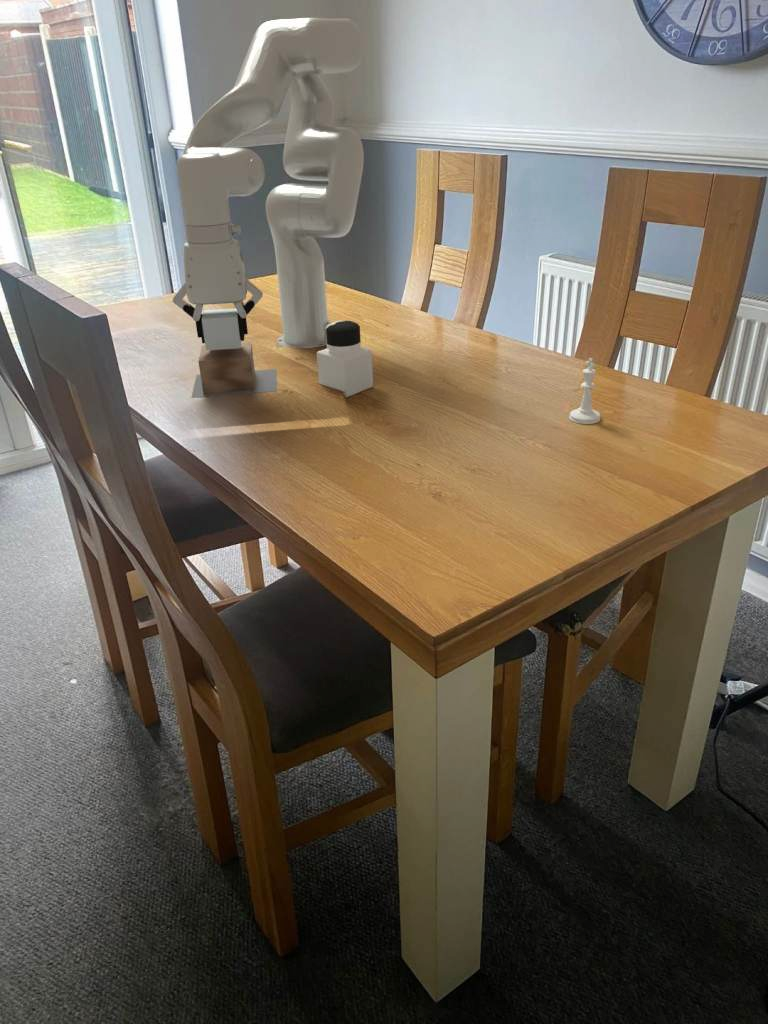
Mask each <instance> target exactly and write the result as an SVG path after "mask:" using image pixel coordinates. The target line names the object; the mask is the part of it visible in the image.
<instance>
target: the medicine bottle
mask: <svg viewBox="0 0 768 1024" xmlns="http://www.w3.org/2000/svg"><path fill="white" fill-rule="evenodd" d="M326 343H327V345H326V348H324V349H322V350H318V351H317V352H316V361H317V362H316V363H317V375H318V384H319V385H323V386H326V387H328V388H331V389H335V390H338V391H340V392H342V395H343V397H344V398H349V397H351V396H354V395H356V394H359V393H361V392H364V391H366V390H368V389H371V388H373V386H374V378H373V377H374V376H373V375H374V374H373V373H374V372H373V357H372V356H373V355H372V353H373V352H372V349H370V348H367V347H364V346H361V345H362V342H361V326H360V324H359V323H357V322H355V321H352V320H336V321H333V322H330V324H329V325H327V327H326Z"/></svg>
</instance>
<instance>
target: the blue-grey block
mask: <svg viewBox="0 0 768 1024" xmlns="http://www.w3.org/2000/svg"><path fill="white" fill-rule="evenodd" d="M202 314H203V316H202V326H203V333H204V340H205V343H204V345H205V347H206V350H221V349H236V348H241V343H242V341H241V340H240V334H239V326H238V311H237V309H236V308H235V307H234V308H221V309H220V308H219V309H217V308H216V309H205V310H203V313H202Z"/></svg>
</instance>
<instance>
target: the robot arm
mask: <svg viewBox="0 0 768 1024" xmlns="http://www.w3.org/2000/svg"><path fill="white" fill-rule="evenodd" d="M364 47H365V46H364V38H363V35H362V32H361V30H360V28H359V26H358V25H357V23H355V22H354V21H353V20H351V19H350V18H326V17H325V18H324V17H322V18H321V17H300V18H284V19H283V18H282V19H274V20H269V21H266V22H264V23H261V25H259V27H258V28H257V29H256V31H255V33H254V35H253V38H252V40H251V41H250V45H249V46H248V49H247V52H246V55H245V57H244V61H243V62H242V65H241V68H240V71H239V73H238V75H237V78H236V80H235V83H234V86H233V87H232V88H231V90H229V91H228V92H227V93H225V94H224V95H223V96H222V97H220V99H218V100H217V101H216V102H215V103H214V104H213V105H212V106H211V107H209V108H208V109H207V110H206V111H205V112H204V113H203V114H202V115H201V116H200V117H199V119H198V120H197V121H196V123H195V124H194V125H193V128H192V130H191V131H190V134H189V135H188V136H189V137H188V139H187V141H186V144H185V147H184V149H183V153H182V154H181V155H180V156H179V157H177V160H176V171H177V178H178V179H177V180H178V185H179V193H180V199H181V205H182V212H183V219H184V226H185V233H186V239H187V242H184V244H183V269H184V270H183V271H184V283H183V285H182V286H181V287H180V289H178V291H177V292H176V293H175V295H174V296H173V297H172V303H173V304H174V305H176V306H177V307H178V308H180V309H181V310H183V312H184V313H185V314H187V315H188V316H189V317H190V318H192V319H193V321H195V328H196V334H197V335H196V336H197V338H199V339H200V338H201V344H205V340H204V333H203V326H202V316H203V313H202V311H203V308H204V305H219V304H220V305H221V304H233V306H234V308H236V309H237V311H238V326H239V334H240V340H241V342H243V341H245V335H248V334H249V332H248V323H247V316H248V314H250V312H251V311H252V310H253V309H254V307H255V306H256V304H258V303H259V301H260V300H261V299H262V298H263V295H264V294H263V292H262V290H261V289H259V288H258V287H257V286H256V285H254V283H252V282H251V280H249V279H248V278H247V277H246V271H245V263H244V258H243V253H242V251H241V247H240V244H239V240H237V239H234V237H235V235H240V234H242V230H241V225H237V224H234V223H232V218H231V212H230V211H231V210H230V204H229V203H230V201H229V198H230V197H247V196H251V195H253V194H255V193H256V192H258V191H259V190H260V189H261V187H262V185H264V181H265V176H266V169H265V166H264V163H263V160H262V159H261V157H260V156H259V154H258V153H256V152H255V151H253V150H252V149H248V148H245V147H227V146H228V145H230V144H231V143H232V142H233V141H235V140H237V139H238V138H240V137H242V136H243V135H246V134H249V133H251V132H253V131H255V130H258V129H260V128H262V127H264V126H266V125H268V124H269V123H271V122H273V121H274V120H275V119H276V118H278V116H279V114H280V112H281V109H282V106H283V104H284V100H285V97H286V96H287V93H288V90H289V94H290V111H289V116H288V122H287V128H286V134H285V140H284V147H283V151H282V152H283V153H282V165H283V170H284V171H285V172H286V174H287V175H288V176H289V177H290V178H292V179H295V180H302V181H316V182H317V181H318V182H328V183H327V184H318V183H315V184H314V183H291V182H290V183H284V184H280V185H277V186H275V187H274V188H272V189H271V190H270V192H269V193H268V195H267V197H266V200H265V214H266V219H267V222H268V226H269V231H270V233H271V238H272V241H273V246H274V252H275V253H274V255H275V262H276V275H277V285H278V294H279V304H280V313H281V326H282V333H283V334H282V335H280V336H279V337H278V338H277V339H276V346H277V347H279V348H281V347H286V348H291V349H310V348H311V349H312V348H318V347H323V346H327V343H326V327H327V325H329V324H330V323H331V322H330V318H329V317H328V305H327V291H326V277H325V275H326V274H325V261H324V260H325V259H324V256H323V253H322V250H321V248H320V246H319V244H318V242H317V241H316V239H315V237H316V238H329V239H331V238H332V239H334V238H336V239H337V238H342V237H345V236H346V235H347V234H348V233H349V232H350V231H351V229H352V226H353V223H354V220H355V216H356V212H357V206H358V205H357V204H358V201H359V200H358V197H359V194H360V188H361V183H362V177H363V170H364V164H365V163H364V162H365V161H364V160H365V155H364V153H365V152H364V145H363V143H362V140H361V138H360V135H359V134H358V133H357V131H356V130H354V129H352V128H350V127H345V126H333V125H334V117H335V107H336V106H335V102H334V98H333V97H332V94H331V93H330V90H329V89H328V87H327V86H326V85H325V83H324V82H323V80H322V78H321V77H320V75H323V74H325V75H330V74H334V75H335V74H341V73H342V74H343V73H350V72H352V71H354V70H355V69H357V68H358V66H359V65H360V64H361V62H362V58H363V55H364ZM319 74H320V75H319ZM248 292H249V293H250V294H252V296H251V297H250V298H249V299H248V300H247V302H245V304H244V302H243V301H246V299H247V293H248ZM186 296H187V300H188V302H187V301H186V300H185V299H184V298H185V297H186ZM190 303H191V304H190ZM193 305H195V307H194V306H193Z"/></svg>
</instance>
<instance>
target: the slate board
mask: <svg viewBox="0 0 768 1024" xmlns="http://www.w3.org/2000/svg"><path fill="white" fill-rule="evenodd" d="M277 377H278V376H277V368H273V369H271V368H270V369H258V370H255V387H254V390H246V391H233V392H220V393H207V394H203V388H202V382H201V375H200V374H196V377H195V380H194V385H193V389H192V393H191V397H190V398H191V399H194V398H209V397H220V396H221V397H222V396H233V395H234V396H235V395H247V394H259V393H260V394H261V393H273V392H277V391H278V383H277V381H278V379H277Z"/></svg>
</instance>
